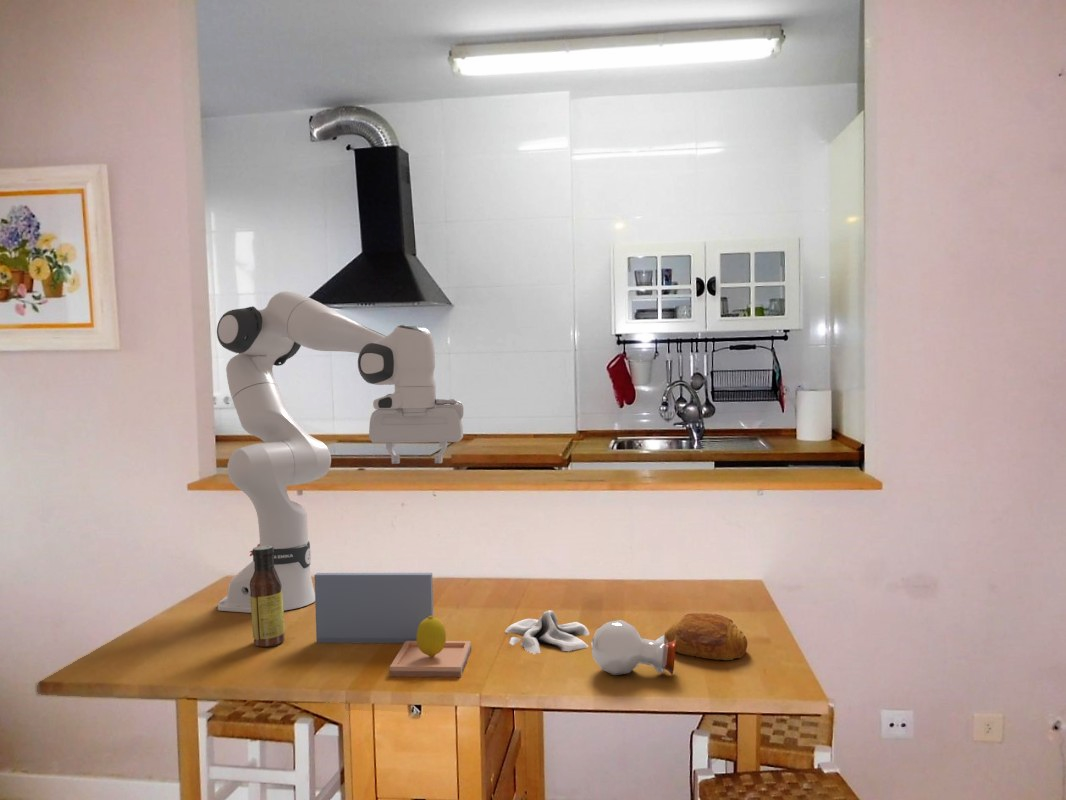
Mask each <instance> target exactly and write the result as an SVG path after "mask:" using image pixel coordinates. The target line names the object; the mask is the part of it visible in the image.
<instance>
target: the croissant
mask: <svg viewBox="0 0 1066 800" xmlns="http://www.w3.org/2000/svg"><path fill="white" fill-rule="evenodd" d="M664 634H665V636H666V638H667V640H668V642H672V641H674V640H675V639H676V651H675V653H677V652H679V653H678V654H681V653H682V654H681V655H684V654H686V656H689V655H691V657H694V656H696V658H700V657H702V658H701V659H709V660H716V661H718V660H722V661H731V660H735V659H741V658H742V657H743V656H745V654H746V652H747V649H748V639H747V637H746V635H745V634H744V632H743V631H742V630H741V629H740V628H738V626H737V625H736V624H735V623H734V621H733V620H732V619H730V618H728V617H726V616H724V615H720V614H716V613H715V614H714V613H713V614H712V613H708V612H707V613H706V612H700V613H687V614H685V615H684V616H683V617H682V618H681V619H680V620H678V621H675V623H674V624H672V625H671V626H670V627H669V628H668V629H666V631H665V632H664ZM734 658H735V659H734Z"/></svg>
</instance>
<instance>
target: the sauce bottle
mask: <svg viewBox="0 0 1066 800" xmlns="http://www.w3.org/2000/svg"><path fill="white" fill-rule="evenodd" d="M252 550H253V555H252V557H253V556H254V563H255V567H254V568H255V571H254V574H253V577H252V578H251V581H250V594H251V595H250V600H251V625H252V628H251V629H252V639H253V643H254V646H257V647H260V648H268V647H274V646H275V647H276V646H278V645H280V644H282V643H283V642H284V641H285V638H286V637H285V634H286V627H285V613H284V612H285V611H284V608H283V596H282V585H281V582H280V580H279V577H278V575H277V572H276V570H275V567H274V562H273V553H274V549H273V546H270V545H265V546H258V547H257V546H255V547H253V548H252Z"/></svg>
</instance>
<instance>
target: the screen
mask: <svg viewBox="0 0 1066 800" xmlns="http://www.w3.org/2000/svg"><path fill="white" fill-rule="evenodd" d="M433 587H434V586H433V572H316V573H315V574H314V591H315V601H314V602H315V627H316V628H315V629H316V630H315V631H316V633H315V634H316V643H317V644H318V643H319V644H320V643H321V644H322V643H325V644H326V643H329V644H330V643H333V644H334V643H335V644H337V643H338V644H339V643H342V644H343V643H344V644H347V643H348V644H349V643H350V644H353V643H355V644H357V643H358V644H404V643H405V642H406V641H417V630H418V627H419V625H420V623H421V622H422V621H423V620H424V619H426V618H428V617H429V616H433V617H434V593H433V592H434V589H433Z"/></svg>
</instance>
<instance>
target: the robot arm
mask: <svg viewBox="0 0 1066 800" xmlns="http://www.w3.org/2000/svg"><path fill="white" fill-rule="evenodd" d="M216 337H217V341H218V342H219V344H220V345H221V346H222V347H223V348H224V349H226V350H228V351H229V352H232V353H235V354H236V355H233V357H231V358H230V359H229V360H228V362H227V364H226V368H225V370H226V378H227V379H226V380H227V384H228V389H229V393H230V396H231V400H232V402H233V405H234V408H235V412H236V413H237V416H238V419H239V422H240V425H241V427H242V429H244V431H245V432H246V433H248V434H250V435H252V436H254V437H256V438H259V440H261V441H262V442H259V443H257V442H256V443H252V444H249V445H246V446H243V447H240V448H237V449H235V450H234V451H233V452H232V453H231V455H230V457H229V459H228V462H227V475H228V478H229V480H230V482H231V483H232V485H233V486H235V487H236V488H237V489H239V490H240V491H241V492H243V493H244V494H245V495H246V496H247V497H248V498H249V499H250V501H251V503H252V505H253V507H254V509H255V513H256V517H257V522H258V534H259V535H258V536H259V543H258V544H257V545H256V547H258V546H265V545H270V546H273V549H274V553H273V562H274V567H275V570H276V572H277V575H278V577H279V580H280V582H281V585H282V596H283V608H284V612H285V611H289V610H294V609H295V610H296V609H298V608H302V607H305V606H309V605H311V604H312V603H314V602H315V586H314V584H313V581H312V580H313V579H312V573H311V567H310V565H311V559H312V555H311V554H312V551H311V545H310V544H311V543H310V541H309V536H308V535H309V533H308V532H309V530H308V514H307V511H306V509H305V508H304V507H303V505H301V504H299V503H298V502H295V501H294V500H291V498H290V497H289V495H288V490H287V487H289V486H290V487H291V486H295V485H296V486H297V485H303V484H308V483H313V482H314V481H317V480H319V479H321V478H323V477H325V476H327V474H328V472H329V471H330V468H331V463H332V456H331V452H330V449H329V448H328V446H327V445H326V444H325V443H324V442H323V441H321V440H319V439H317V438H315V437H314V436H312V435H311V434H309V433H308V432H306V431H305V430H304V429H303V428H302V427H301V426H300V425H299V424H298V423H297V422H296V421H295V419H294V418H293V417H292V415H291V414H290V412H289V410H288V408H287V406H286V403H285V401H284V399H283V396H282V394H281V392H280V389H279V387H278V384H277V381H276V378H275V377H274V373H273V367H274V366H277V367H279V366H283V365H285V363H286V362H287V360H289V359H291V358H292V357H293V356H295V355H296V354H297V353H298V351H299V349H300V348H301V347H305V348H307V349H312V350H315V351H321V352H345V353H346V352H348V353H355V354H358V358H357V368H358V371H359V375H360V376H361V378H362V380H364V381H365V383H368V384H371V385H376V386H384V385H385V386H387V385H389V386H390V385H393V386H394V392H393V393H388V394H386V395H384V396H381V397H379V398H376V399H374V400H373V403H372V407H373V408H374V409H375V410H374V411H373V412H372V413H371V415H370V420H369V426H368V427H369V429H368V438H369V440H370V442H372V444H385V449H386V450H387V452H388V454H389V455H390V456H391V457H390V458H391V464H392V465H393V464H394V465H395V464H400V463H401V455H400V454H396V451H395V450H394V447H396V446H395V444H397V443H398V444H399V443H400V444H401V443H402V444H403V443H405V444H406V443H439V445H438V446H439V448H441V449H440V450H439V452H438V453H437V454H434V464H442V463H443V455H444V453H445V451H446V450H447V447H448V443H458V442H460V441H461V440H462V439H463V438H464V429H463V421H462V418H463V417H464V406H463V404H462V403H461V402H460V401H458V400H457V399H455V398H453V399H451V398H450V399H440V398H439V399H438V398H437V393H436V392H437V390H436V389H437V388H436V381H435V377H434V373H435V368H436V367H435V366H436V356H435V355H436V354H435V343H434V338H433V335H432V333H431V331H430V330H429V329H427V328H426V327H423V326H417V325H410V324H401V325H397V326H396V327H395V328H394V329H393V331H392V332H391V333H389V334H388V335H385V334H383V333H380V332H378V331H376V330H373V329H371V328H370V327H369V328H368V327H367V326H365V325H363V324H360V323H358V322H356V321H354V320H353V319H350V318H349V317H347V316H344V315H343V314H341V313H339V312H337V311H336V310H334V309H332V308H330V307H329V306H327V305H324V304H323V303H321V302H320V301H317V300H315V299H313V298H311V297H309V296H306V295H303V294H300V293H296V292H294V291H293V292H292V291H281V292H278V293H276V294H274V295H273V296H272V297H271V298H270V299H269V301H268V303H267V305H266V307H264V308H262V309H257V308H256V307H255V306H249V307H243V308H235V309H231V310H228V311H226V312H224V314H222V315H221V317H220V319H219V320H218V323H217V327H216ZM249 553H250V554H249V557H252V561H251V562H250V563H249V564H248V565H246V566H245V567H244V568H243V569H241V571H239V572H238V573H237V574H236V575H234V576H233V577H232V579H231V580H230V582H229V585H228V589H227V595H226V596H225V597H223V598H222V599H221V600H219V602H218V604H217V610H218V611H223V612H234V613H236V612H237V613H249V614H250V613H251V600H250V595H251V594H250V581H251V578H252V577H253V574H254V571H255V568H254V567H255V563H254V556H253V549H252V550H250V551H249Z"/></svg>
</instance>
